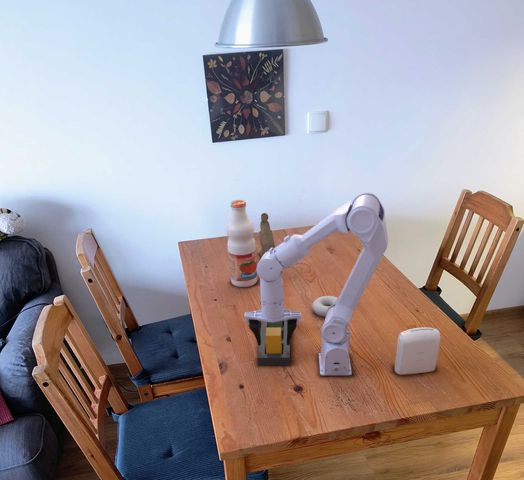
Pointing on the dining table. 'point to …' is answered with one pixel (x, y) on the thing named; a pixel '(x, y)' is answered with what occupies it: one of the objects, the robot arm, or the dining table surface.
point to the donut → (323, 304)
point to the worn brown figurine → (265, 235)
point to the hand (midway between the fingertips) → (273, 343)
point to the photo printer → (417, 350)
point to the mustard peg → (273, 341)
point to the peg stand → (273, 358)
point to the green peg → (275, 324)
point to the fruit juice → (241, 246)
